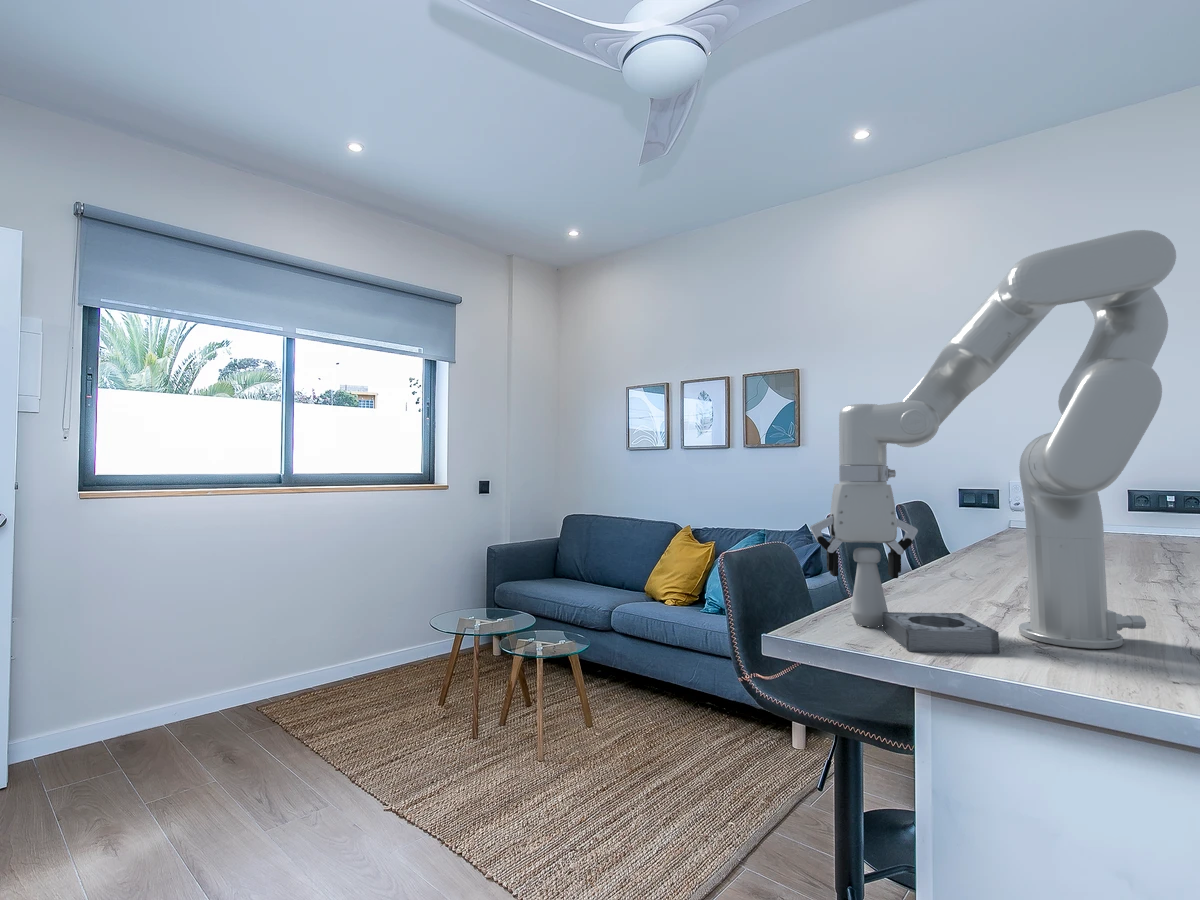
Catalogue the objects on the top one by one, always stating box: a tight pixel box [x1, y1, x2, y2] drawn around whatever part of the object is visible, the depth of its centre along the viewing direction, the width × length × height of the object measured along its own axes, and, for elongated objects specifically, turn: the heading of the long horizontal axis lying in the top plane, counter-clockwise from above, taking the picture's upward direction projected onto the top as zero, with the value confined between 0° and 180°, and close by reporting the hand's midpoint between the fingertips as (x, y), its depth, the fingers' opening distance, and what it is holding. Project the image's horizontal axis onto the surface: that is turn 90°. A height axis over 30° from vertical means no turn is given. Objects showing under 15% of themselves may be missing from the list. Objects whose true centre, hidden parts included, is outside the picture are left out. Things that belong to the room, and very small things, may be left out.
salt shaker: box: [850, 547, 889, 628], centre depth 104 cm, size 6×6×13 cm
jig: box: [882, 611, 1000, 654], centre depth 93 cm, size 12×12×3 cm
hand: (863, 576), depth 105 cm, fingers open, 9 cm apart
